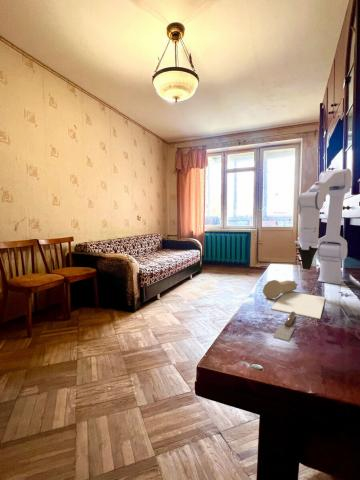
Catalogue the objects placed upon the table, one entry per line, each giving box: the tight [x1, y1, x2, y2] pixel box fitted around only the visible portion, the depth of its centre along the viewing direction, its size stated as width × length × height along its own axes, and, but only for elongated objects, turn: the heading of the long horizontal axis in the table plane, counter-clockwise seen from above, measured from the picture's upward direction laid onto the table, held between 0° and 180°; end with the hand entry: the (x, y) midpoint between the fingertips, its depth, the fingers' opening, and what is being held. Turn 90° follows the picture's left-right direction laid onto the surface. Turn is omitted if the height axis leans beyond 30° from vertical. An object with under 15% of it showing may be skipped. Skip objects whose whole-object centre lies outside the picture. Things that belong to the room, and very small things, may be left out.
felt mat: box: [270, 291, 326, 320], centre depth 74 cm, size 20×12×1 cm, turn 146°
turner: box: [273, 312, 297, 342], centre depth 58 cm, size 15×3×1 cm, turn 146°
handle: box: [262, 279, 298, 300], centre depth 82 cm, size 5×6×15 cm
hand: (306, 269), depth 83 cm, fingers closed
